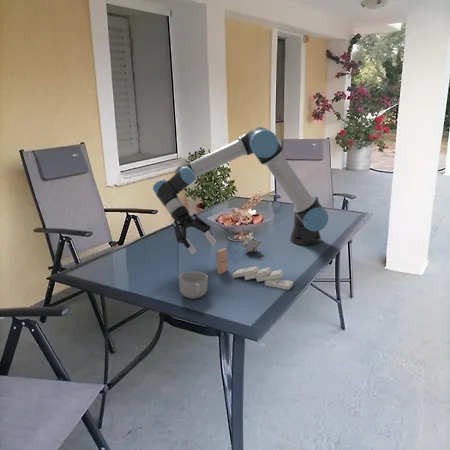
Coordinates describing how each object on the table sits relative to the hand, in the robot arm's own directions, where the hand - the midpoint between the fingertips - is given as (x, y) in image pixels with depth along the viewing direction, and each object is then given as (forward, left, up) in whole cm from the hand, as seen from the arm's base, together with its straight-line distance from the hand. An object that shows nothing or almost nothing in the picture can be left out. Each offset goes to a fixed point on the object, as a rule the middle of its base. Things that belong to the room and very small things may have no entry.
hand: (204, 248), depth 191 cm
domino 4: (-21, +17, -8) cm, 28 cm away
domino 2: (-13, +11, -8) cm, 19 cm away
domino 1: (-7, +7, -9) cm, 13 cm away
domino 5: (-25, +20, -8) cm, 33 cm away
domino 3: (-17, +15, -8) cm, 24 cm away
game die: (-22, -16, -9) cm, 28 cm away
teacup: (+4, +29, -9) cm, 31 cm away
